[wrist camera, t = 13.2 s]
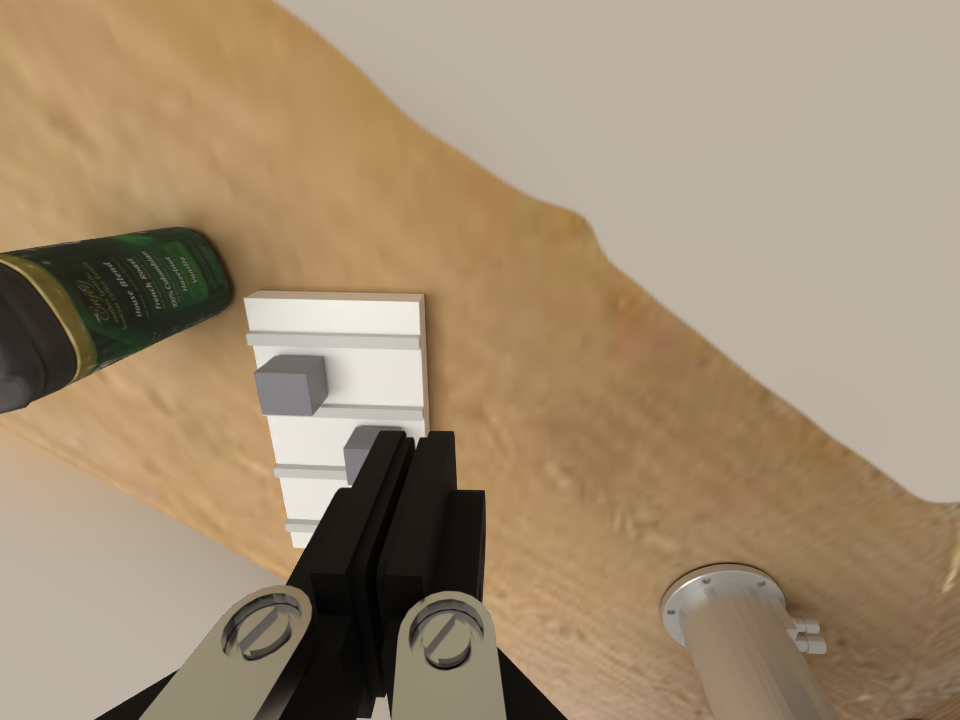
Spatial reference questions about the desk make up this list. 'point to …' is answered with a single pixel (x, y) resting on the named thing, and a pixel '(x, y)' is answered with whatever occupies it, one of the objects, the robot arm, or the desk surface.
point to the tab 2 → (359, 449)
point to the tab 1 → (291, 385)
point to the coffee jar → (98, 305)
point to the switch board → (340, 384)
